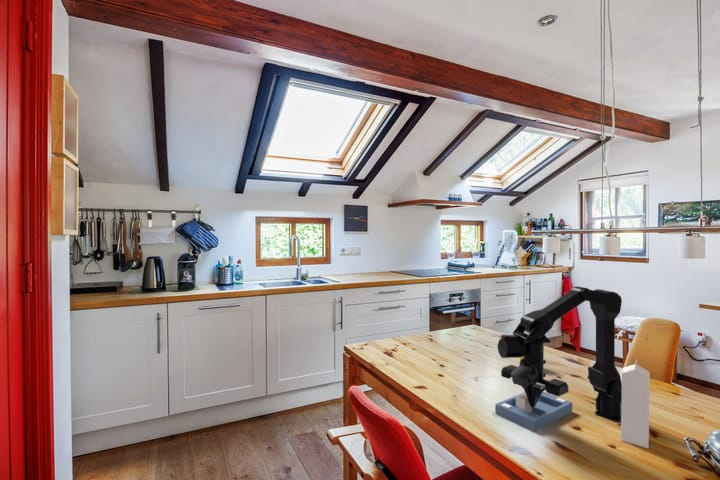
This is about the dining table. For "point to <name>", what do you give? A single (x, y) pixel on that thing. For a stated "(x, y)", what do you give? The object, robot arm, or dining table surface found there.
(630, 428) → the milk
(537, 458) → the dining table surface
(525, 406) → the tab
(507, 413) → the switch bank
